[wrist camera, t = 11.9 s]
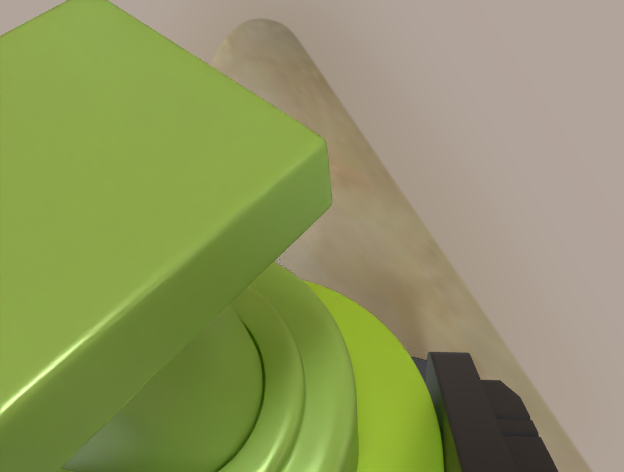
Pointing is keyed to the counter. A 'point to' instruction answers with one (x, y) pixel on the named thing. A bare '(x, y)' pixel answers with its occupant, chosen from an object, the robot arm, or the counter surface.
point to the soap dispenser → (175, 273)
